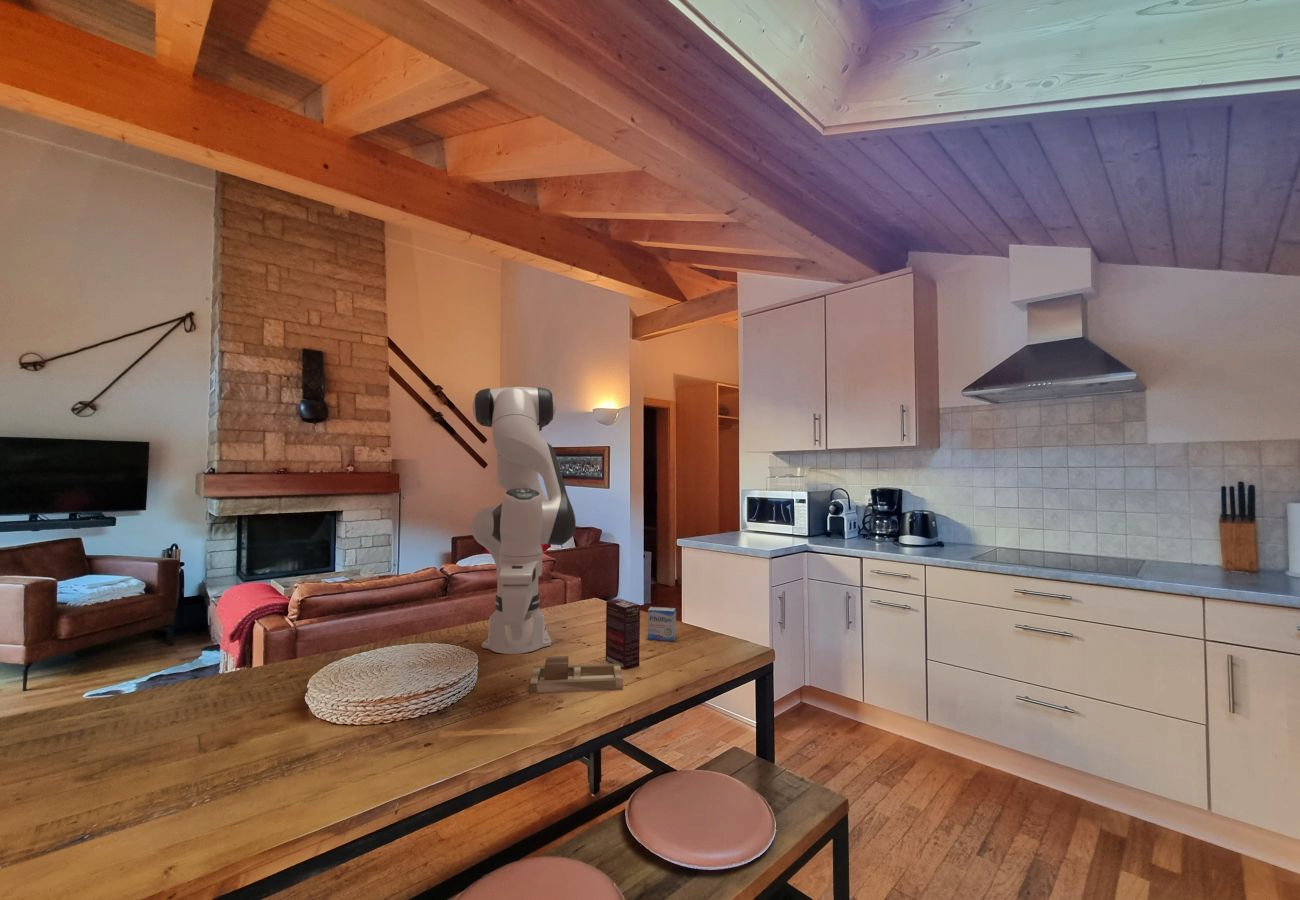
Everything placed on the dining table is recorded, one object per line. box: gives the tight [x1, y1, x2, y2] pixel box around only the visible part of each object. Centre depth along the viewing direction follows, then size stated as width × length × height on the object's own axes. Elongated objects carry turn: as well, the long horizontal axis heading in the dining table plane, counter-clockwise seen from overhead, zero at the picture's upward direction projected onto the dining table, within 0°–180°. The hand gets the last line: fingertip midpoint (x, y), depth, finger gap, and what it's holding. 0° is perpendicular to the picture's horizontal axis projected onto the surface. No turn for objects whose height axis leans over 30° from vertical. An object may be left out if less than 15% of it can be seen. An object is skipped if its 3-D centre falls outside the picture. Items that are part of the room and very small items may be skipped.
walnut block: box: [544, 655, 569, 680], centre depth 119 cm, size 5×5×5 cm
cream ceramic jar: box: [505, 611, 533, 649], centre depth 110 cm, size 6×6×6 cm
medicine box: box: [647, 606, 677, 642], centre depth 154 cm, size 8×4×9 cm, turn 81°
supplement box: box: [605, 598, 641, 671], centre depth 132 cm, size 9×5×16 cm, turn 39°
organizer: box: [529, 663, 624, 694], centre depth 119 cm, size 10×20×3 cm, turn 97°
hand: (518, 633), depth 110 cm, fingers closed on cream ceramic jar, 6 cm apart
